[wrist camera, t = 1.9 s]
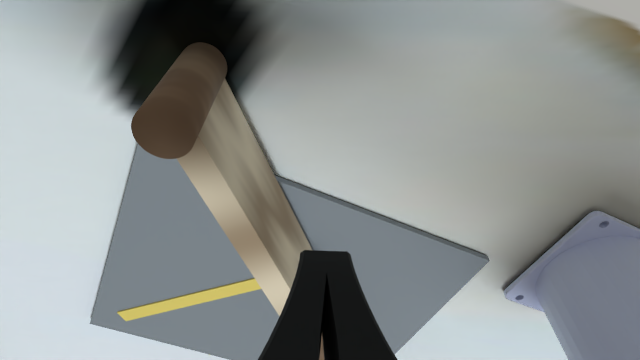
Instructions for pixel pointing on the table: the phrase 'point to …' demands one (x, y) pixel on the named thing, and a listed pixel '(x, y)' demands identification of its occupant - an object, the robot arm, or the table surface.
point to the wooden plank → (223, 165)
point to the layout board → (236, 279)
